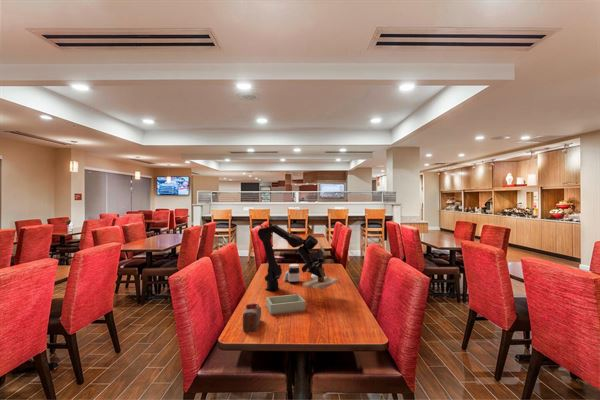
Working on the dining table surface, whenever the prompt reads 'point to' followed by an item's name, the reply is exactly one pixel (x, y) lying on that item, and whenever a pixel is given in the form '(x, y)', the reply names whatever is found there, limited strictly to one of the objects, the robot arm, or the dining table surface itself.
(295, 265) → the spread jar
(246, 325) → the food item
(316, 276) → the flower in vase
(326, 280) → the lid
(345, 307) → the dining table surface
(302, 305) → the grey rectangular tray
